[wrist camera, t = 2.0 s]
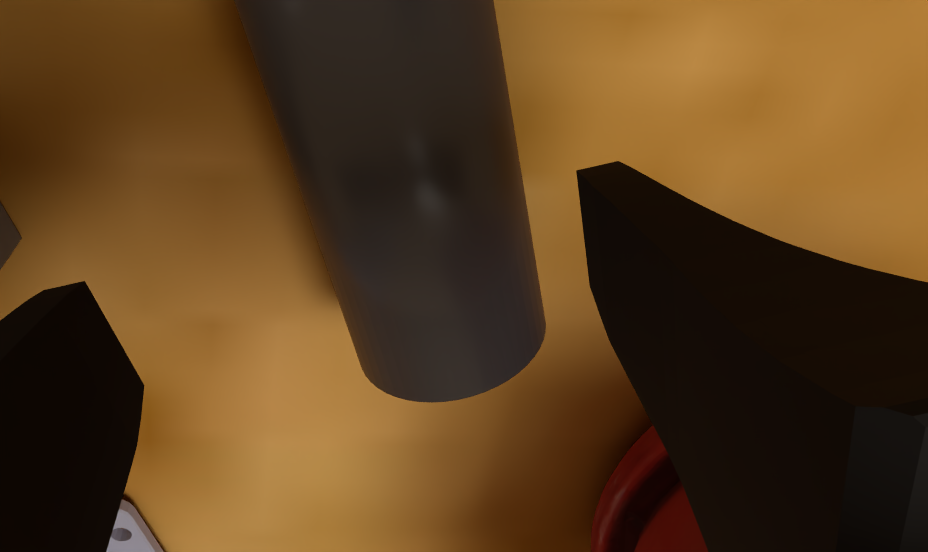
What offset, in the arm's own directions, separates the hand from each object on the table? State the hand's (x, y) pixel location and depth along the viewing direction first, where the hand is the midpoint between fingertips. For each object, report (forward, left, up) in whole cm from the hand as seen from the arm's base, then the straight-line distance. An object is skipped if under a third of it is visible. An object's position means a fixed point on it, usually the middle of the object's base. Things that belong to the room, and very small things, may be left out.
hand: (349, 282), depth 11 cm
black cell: (0, 0, -5) cm, 5 cm away
